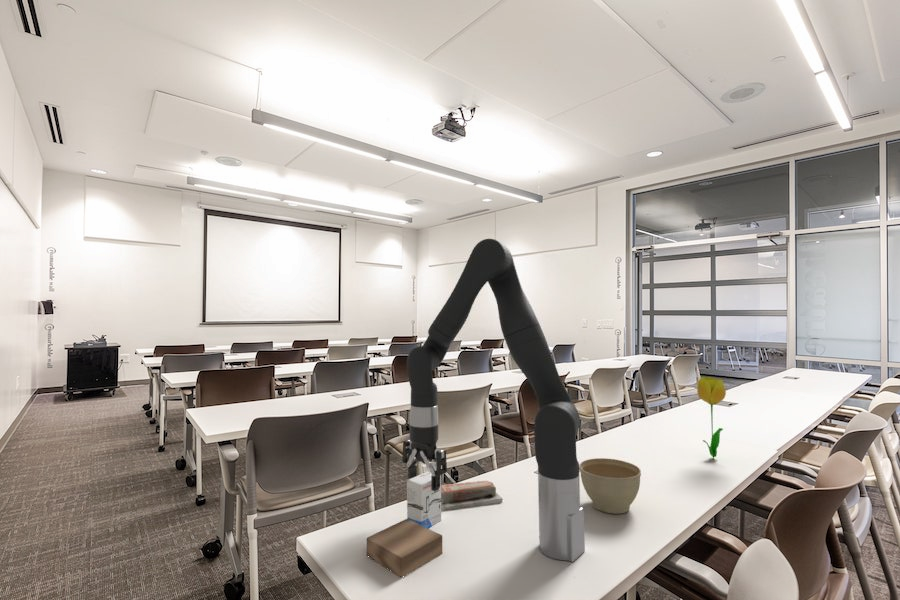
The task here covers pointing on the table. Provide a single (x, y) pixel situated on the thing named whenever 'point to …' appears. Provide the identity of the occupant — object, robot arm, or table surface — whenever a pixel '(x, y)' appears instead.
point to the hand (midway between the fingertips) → (423, 485)
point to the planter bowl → (610, 483)
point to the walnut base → (404, 547)
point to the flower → (712, 394)
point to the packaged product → (468, 495)
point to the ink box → (423, 501)
